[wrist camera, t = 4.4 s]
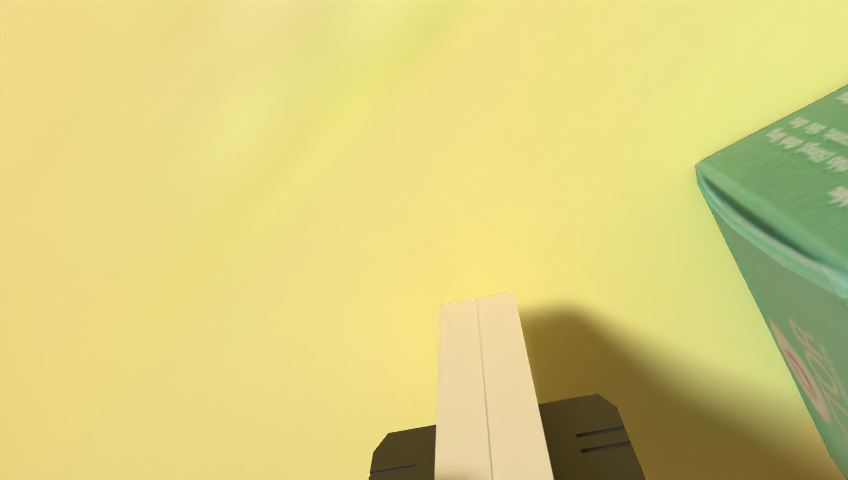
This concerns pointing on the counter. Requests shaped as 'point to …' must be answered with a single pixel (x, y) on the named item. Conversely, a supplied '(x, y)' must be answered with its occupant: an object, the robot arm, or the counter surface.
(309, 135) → the counter surface
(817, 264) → the box
